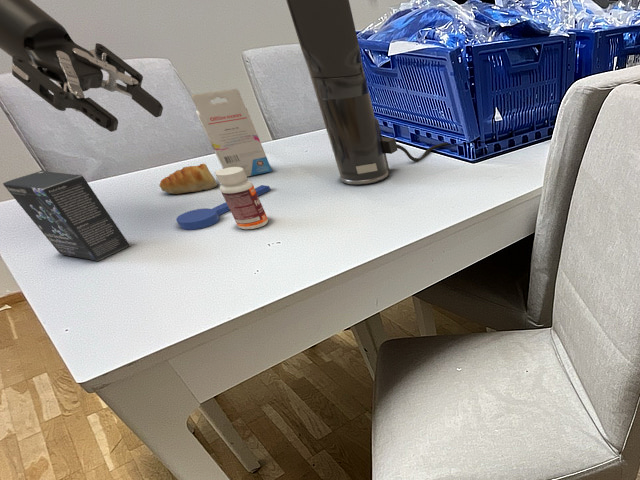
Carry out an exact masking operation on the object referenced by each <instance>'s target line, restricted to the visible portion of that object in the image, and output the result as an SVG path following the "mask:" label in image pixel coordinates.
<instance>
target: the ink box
mask: <svg viewBox="0 0 640 480" xmlns="http://www.w3.org/2000/svg"><path fill="white" fill-rule="evenodd" d="M216 98H219V99H226V101H222V102H215V103H212V102H211V101H212V100H216ZM191 100H192V101H193V104H194V106H195V107H196V110H195V113H196V116H197V118H198V120H199V122H200V124H201V126H202V129H203V131H204V133H205V135H206V137H207V139H208V141H209V142H210V145H211V147H212V149H213V151H214V153H215V155H216V157H217V159H218V162H219V163H220V165H221V169H224V168H230V167H241V168H243V169H244V171H245V174H246V176H247V178H248V177H253V176H256V175H261V174H266V173H271V172H273V169H272V167H271V165H270V161H269V160H268V157H267V155H266V152H265V150H264V147H263V145H262V142H261V140H260V138H259V135H258V132H257V130H256V127H255V125H254V123H253V120H252V118H251V116H250V113H249V110H248V108H247V107H246V106H245V105H246V104H245V102H244V100H243V97H242V96H241V93H240V91H239V89H238V88H232V89H223V90H216V91H209V92H202V93H193V94H192V95H191Z"/></svg>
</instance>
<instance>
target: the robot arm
mask: <svg viewBox="0 0 640 480" xmlns="http://www.w3.org/2000/svg"><path fill="white" fill-rule="evenodd" d="M286 5H287V7H288V11H289V15H290V17H291V20H292V24H293V27H294V30H295V34H296V37H297V39H298V40H297V41H298V43H299V46H300V50H301V53H302V56H303V59H304V62H305V64H306V68H307V70H308V74H309V76H310V80H311V84H312V87H313V91H314V93H315V97H316V100H317V103H318V106H319V110H320V114H321V117H322V121H323V123H324V126H325V130H326V133H327V136H328V139H329V143H330V146H331V149H332V154H333V156H334V159H335V163H336V166H337V170H338V172H339V173H338V174H339V178H340V181H341V182H342V183H344V184H347V185H357V186H358V185H369V184H373V183H377V182H380V181H383V180H385V179H387V178H388V176H389V172H390V166H389V161H388V158H387V154H389V155H390V154H391V155H392V154H394V153H395V152H397V151H398V150H400V151H402V152H403V153H404V154H405V155H406V156H407V158H409V159H410V160H411V161H412V162H415V163H418V162H420V161H422V160H423V159H425V158H426V157H427V156H428V155H429V154H430V152H431V151H435V150H437V149H440V148H444V147H448V146H452V145H451V144H448V143H446V142H442V143H439V144H435V145H432V146H430V147H428V148H427V149H426V150H425V151H424V153H423V154H422V155H421V157H418V158H417V157H414V156H413V155H412V154H411V153H410V152H409V151H408V150H407V149H406V148H405V147H404V146H403V145H400V144H398V143H397V140H396V138H394V137H384V136H383V135H382V132H381V126H380V123H379V120H378V118H376V116H375V112H374V107H373V103H372V98H371V95H370V89H369V85H368V81H367V78H366V72H365V68H364V64H363V60H362V59H363V58H362V52H361V48H360V44H359V43H360V42H359V40H358V34H357V31H356V25H355V21H354V17H353V12H352V8H351V2H350V0H286ZM94 46H95V47H94V48H93V49H89V50H88V49H87V48H84V47H82V46H81V45H79V44H77V43H76V42H74V40H73V39H72V37H71V36H70V34H69V32H68V31H67V29H66V28H65V27H64V26H63V25H62V24H61V23H60V22H58V21H57V20H56V19H55V18H53V16H51V15H50V14H48V13H47V12H46V11H44V10H43V9H42V8H41V7H39V6H38V5H37V4H36V3H34V2H33V1H32V0H0V50H2V51H3V52H5V53H6V54H7V55H8V56H10V57H11V75H12V76H13V77H15V79H17V80H18V81H20V82H21V83H22V84H23V85H25V86H26V87H27V88H28V89H30V91H32V92H33V93H35V94H36V95H37V96H39V97H41V98H42V99H43V101H45V102H46V103H48V104H49V105H50V106H52V107H53V108H55V109H56V110H58V111H61V112H65V111H66V110H67V109H72V110H73V111H75V112H77V113H82V115H84V116H86V117H87V118H89V119H90V120H91V121H93V122H94V123H95V124H96V125H98V126H99V127H101V128H103V129H106V130H107V131H109V132H112V133H113V132H115V131H118V126H119V120H118V118H117V117H116V116H115V115H113V114H112V113H111V112H109V111H108V110H107V109H106V108H104V107H103V106H101V105H100V104H99V103H98V102H96V101H95V100H93V99H92V98H91V97H90V96H89V97H88V96H87V97H85V93H84V92H87V91H89V90H90V89H100V88H101V89H103V90H106V91H108V92H110V93H111V92H112V93H113V92H118V93H121V94H123V95H126V96H128V97H131V100H132V101H134V102H135V103H136V104H138V105H139V106H140V107H141V108H143V109H144V111H145V110H146V112H148V113H149V114H151V115H152V116H153V117H154V118H160V117H161V116H162V115H163V110H164V106H163V105H162V103H161V101H159V100H158V99H157V98H155V96H153V95H152V94H150V93H149V92H148V91H147V90H145V89H144V88H143V87H142V83H143V80H144V76H143V75H142V73H140V72H139V71H138V70H136V69H135V68H134V67H133V66H131V65H130V64H128V63H127V62H126V61H125V60H123V59H122V58H121V57H120V56H118V55H117V54H116V53H114V52H112V50H110V49H109V48H107V47H106V46H104V45H103V44H102V43H98V42H97V43H95V45H94ZM103 71H104V72H106V73H107V74H108V77H107V79H106V80H104V73H103ZM126 73H127V74H126ZM54 81H55V82H54ZM117 81H121V82H122V83H123V84H125V85H123V84H120V83H118V82H117Z"/></svg>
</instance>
